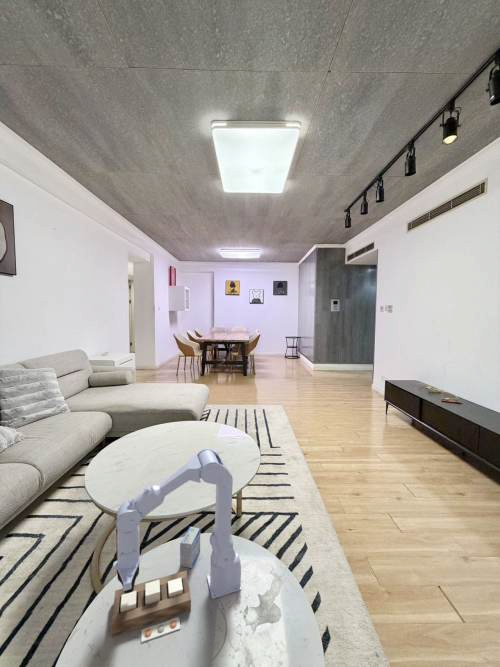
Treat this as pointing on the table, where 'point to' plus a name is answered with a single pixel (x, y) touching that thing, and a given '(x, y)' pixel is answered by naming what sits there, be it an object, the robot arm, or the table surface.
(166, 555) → the table surface
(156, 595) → the button middle
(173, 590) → the button
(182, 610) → the board
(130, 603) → the button
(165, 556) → the table surface
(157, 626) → the pattern card
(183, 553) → the medicine box
